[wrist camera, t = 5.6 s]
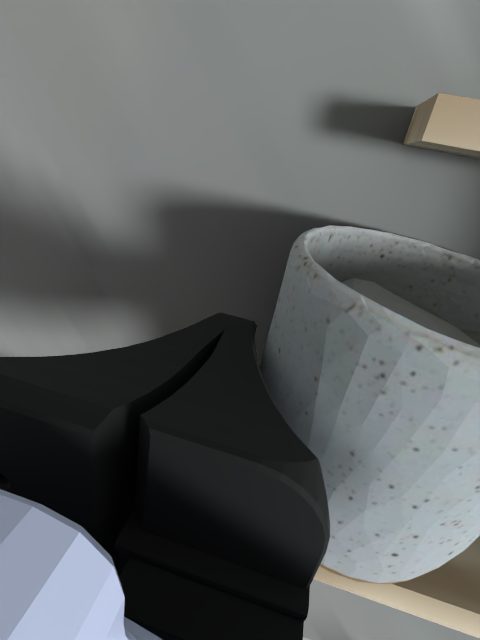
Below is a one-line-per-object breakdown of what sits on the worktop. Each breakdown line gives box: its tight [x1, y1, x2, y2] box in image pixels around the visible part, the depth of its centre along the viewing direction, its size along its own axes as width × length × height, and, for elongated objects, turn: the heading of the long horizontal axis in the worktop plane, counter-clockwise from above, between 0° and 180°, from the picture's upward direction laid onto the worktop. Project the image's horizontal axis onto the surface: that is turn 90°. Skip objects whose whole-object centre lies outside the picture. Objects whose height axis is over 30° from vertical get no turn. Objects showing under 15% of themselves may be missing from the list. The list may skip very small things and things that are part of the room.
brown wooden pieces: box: [313, 93, 480, 638], centre depth 11 cm, size 15×24×6 cm, turn 80°
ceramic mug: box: [260, 225, 480, 584], centre depth 10 cm, size 11×8×8 cm
